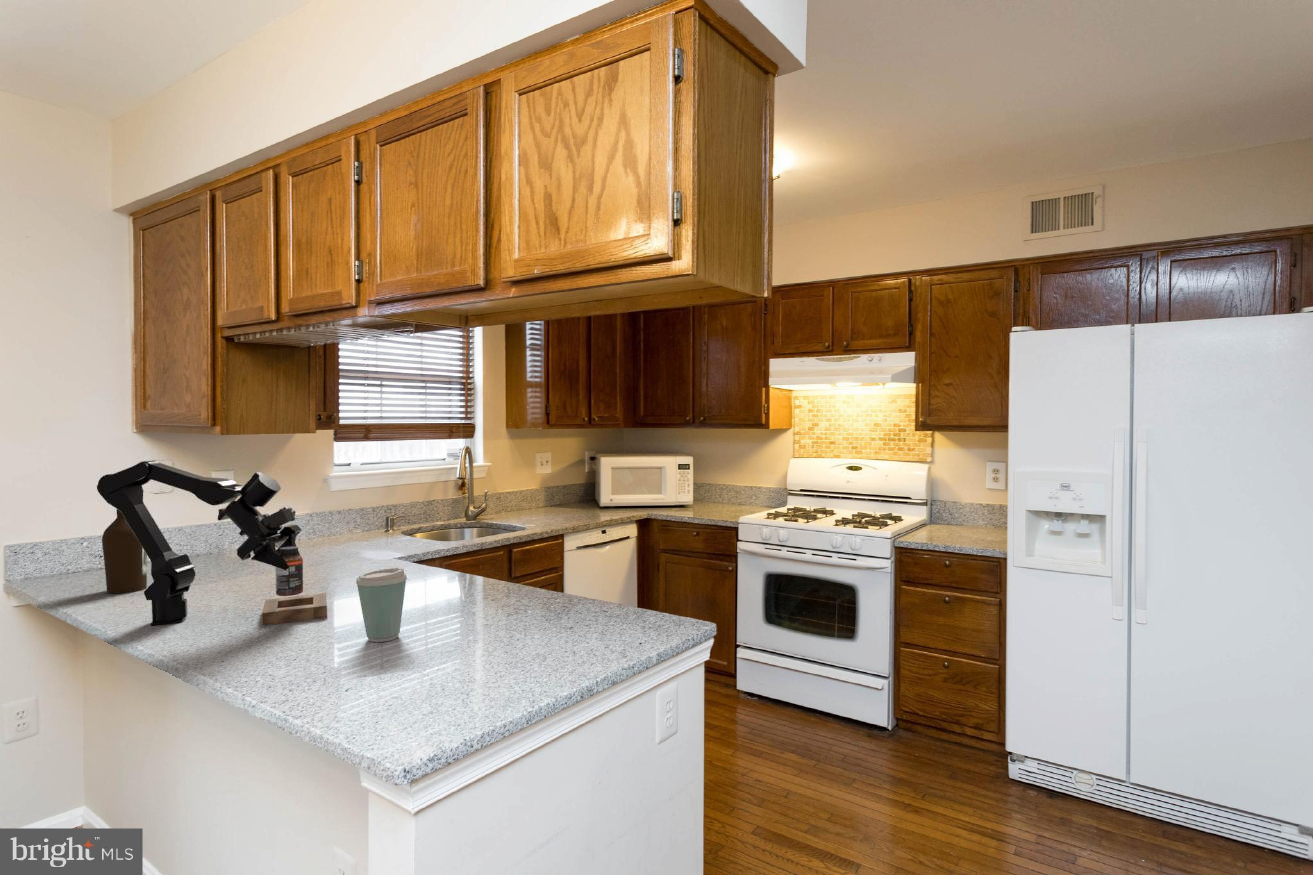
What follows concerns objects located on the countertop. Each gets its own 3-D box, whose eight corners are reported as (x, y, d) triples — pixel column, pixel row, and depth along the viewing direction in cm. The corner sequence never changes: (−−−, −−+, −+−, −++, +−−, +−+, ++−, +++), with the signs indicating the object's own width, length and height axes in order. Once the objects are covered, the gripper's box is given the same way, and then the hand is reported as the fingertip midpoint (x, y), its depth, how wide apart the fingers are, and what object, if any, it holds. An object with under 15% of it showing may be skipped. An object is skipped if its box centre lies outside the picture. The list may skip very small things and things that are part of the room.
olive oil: (105, 596, 203) (101, 507, 202) (103, 589, 211) (99, 504, 210) (151, 590, 209) (147, 504, 209) (147, 583, 218) (144, 501, 217)
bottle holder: (262, 625, 171) (261, 613, 171) (265, 611, 184) (265, 599, 184) (327, 617, 177) (326, 605, 177) (326, 604, 190) (326, 592, 190)
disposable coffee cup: (354, 647, 154) (352, 577, 153) (360, 633, 164) (358, 567, 163) (407, 642, 157) (405, 573, 156) (409, 628, 167) (407, 564, 166)
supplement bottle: (290, 591, 179) (290, 545, 179) (308, 592, 177) (308, 546, 177) (269, 595, 174) (269, 548, 174) (288, 597, 172) (288, 549, 172)
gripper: (248, 501, 166) (295, 550, 166) (293, 492, 184) (336, 536, 184) (215, 535, 166) (263, 583, 166) (264, 523, 185) (306, 566, 185)
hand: (294, 565), depth 175 cm, fingers closed on supplement bottle, 6 cm apart
